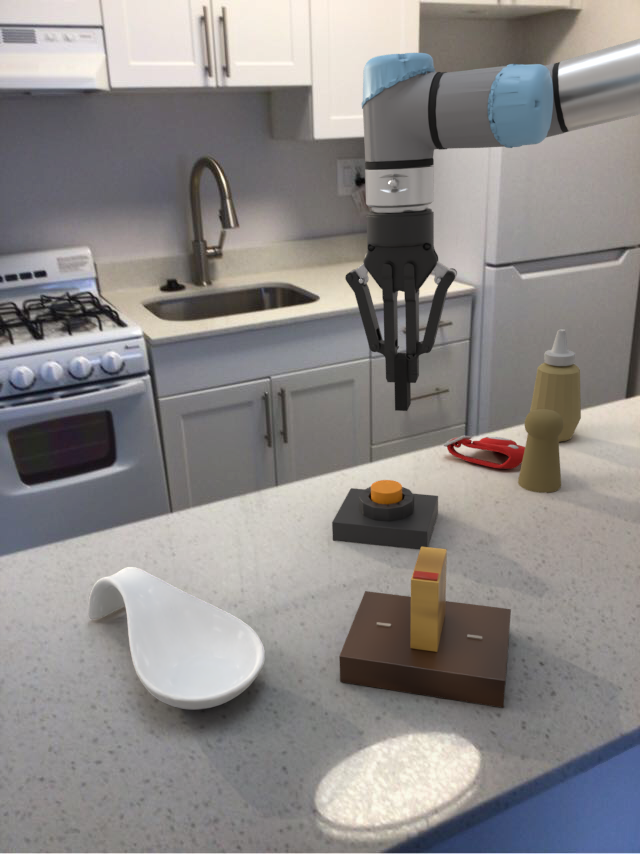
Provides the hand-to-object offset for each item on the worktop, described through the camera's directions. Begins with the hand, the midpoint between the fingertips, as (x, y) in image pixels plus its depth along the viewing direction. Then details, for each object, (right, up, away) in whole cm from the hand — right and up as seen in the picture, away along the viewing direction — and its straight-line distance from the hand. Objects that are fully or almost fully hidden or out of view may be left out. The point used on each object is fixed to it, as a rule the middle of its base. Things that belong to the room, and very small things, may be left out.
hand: (402, 406), depth 93 cm
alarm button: (-2, -12, +4) cm, 13 cm away
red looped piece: (+16, -7, +25) cm, 31 cm away
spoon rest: (-25, -26, -17) cm, 40 cm away
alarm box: (-2, -16, +6) cm, 17 cm away
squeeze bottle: (+28, -4, +33) cm, 44 cm away
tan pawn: (+21, -11, +16) cm, 29 cm away
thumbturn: (0, -22, -20) cm, 30 cm away
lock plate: (0, -25, -19) cm, 31 cm away
